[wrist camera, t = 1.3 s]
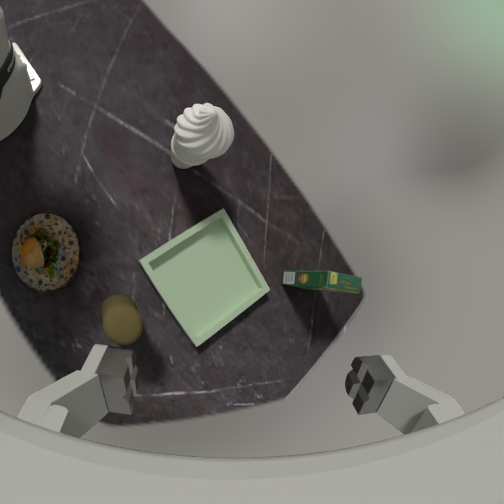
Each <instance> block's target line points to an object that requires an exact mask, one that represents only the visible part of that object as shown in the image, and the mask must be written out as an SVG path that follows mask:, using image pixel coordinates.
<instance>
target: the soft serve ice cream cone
mask: <svg viewBox="0 0 504 504" xmlns="http://www.w3.org/2000/svg"><path fill="white" fill-rule="evenodd" d="M174 130H175V134H174V135H173V138H172V141H171V155H170V157H171V161H172V163H173V164H174V165H175V166H176V167H178V168H180V169H187V168H189V167H192V166H195V165H200V164H203V163H204V162H206V161H207V160H208V159H210V158H215V157H218V156H220V155H222V154H224V153H225V152H226V151H227V150H228V148H229V146H230V145H231V143H232V141H233V139H234V130H233V126H232V122H231V120H230V118H229V117H228V115H227V114H226V113H224V111H223V110H222V109H221V108H219V107H214V106H213V105H212V104H209V103H205V104H204V105H201V104H195V105H193V107H192V108H186V109H185V110H184V114H182V115H180V116H178V118H177V124H176V125H175V128H174Z"/></svg>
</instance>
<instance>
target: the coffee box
mask: <svg viewBox="0 0 504 504" xmlns="http://www.w3.org/2000/svg"><path fill="white" fill-rule="evenodd" d="M361 280H362V279H361V277H357V276H352V275H347V274H342V273H337V272H332V271H283V277H282V285H287V286H292V287H297V288H303V289H309V290H319V291H333V292H347V293H360V288H361Z"/></svg>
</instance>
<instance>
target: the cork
mask: <svg viewBox="0 0 504 504" xmlns="http://www.w3.org/2000/svg"><path fill="white" fill-rule="evenodd" d="M100 316H101V320H102V322H103V329H104V333H105V334H106V336H107V337H108V338H109V339H110V340H111V341H112V342H114V343H116V344H119V345H128V344H132V343H133V342H135V341H136V340H137V339H138V338H139V337H140V335H141V333H142V330H143V320H142V317H141V315H140V313H139V312H138V310H137V307H136V305H135V303H134V302H133V300H131V299H130V298H129V297H128V296H125V295H123V294H114V295H111V296H109V297H107V298H106V299H105V300H104V302H103V303H102V305H101V308H100Z"/></svg>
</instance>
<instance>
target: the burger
mask: <svg viewBox="0 0 504 504" xmlns="http://www.w3.org/2000/svg"><path fill="white" fill-rule="evenodd" d="M79 260H80V244H79V241H78V237H77V234H76V231H75V230H74V228H73V227H72V226H71V225H70V224H69V223H68V222H67V221H66V220H65V218H64V217H62V216H60V215H59V214H58V213H56V212H54V211H45V212H42V213H35V214H34V215H31V216H29V217H27V219H25V220H24V221H23V222H22V223H21V225H20V226H19V227H18V229H17V230H16V232H15V234H14V237H13V239H12V244H11V261H12V267H13V268H14V271H15V273H16V275H17V276H18V278H19V279H20V280H21V281H22V282H23V283H24V284H25V285H26V286H27V287H29V288H31V289H33V290H35V291H38V292H52V291H56V290H58V289H60V288H61V289H62V288H63V287H65V285H66V286H67V284H69V283H70V282H71V280H72V279H73V277H74V276H75V275H76V272H77V270H78V267H79Z"/></svg>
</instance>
